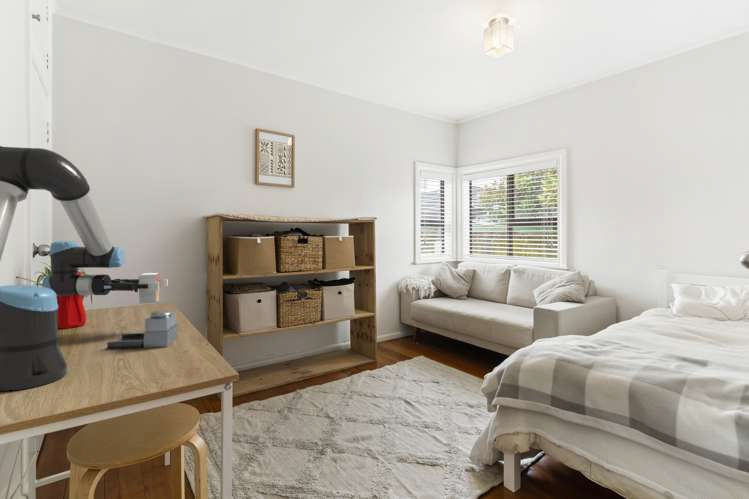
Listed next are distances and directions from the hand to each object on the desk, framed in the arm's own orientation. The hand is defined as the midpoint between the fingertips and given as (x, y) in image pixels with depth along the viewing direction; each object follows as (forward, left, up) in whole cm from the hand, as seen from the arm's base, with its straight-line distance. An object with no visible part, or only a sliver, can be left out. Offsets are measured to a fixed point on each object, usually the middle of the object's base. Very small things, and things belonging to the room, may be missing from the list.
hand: (163, 284), depth 143 cm
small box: (0, +5, -7) cm, 8 cm away
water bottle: (+14, +39, -18) cm, 45 cm away
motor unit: (-16, +1, -18) cm, 24 cm away
